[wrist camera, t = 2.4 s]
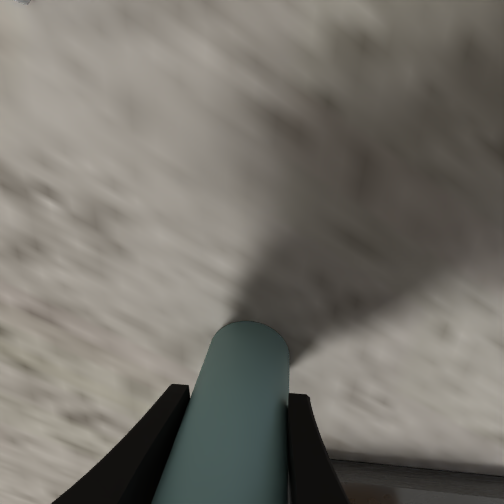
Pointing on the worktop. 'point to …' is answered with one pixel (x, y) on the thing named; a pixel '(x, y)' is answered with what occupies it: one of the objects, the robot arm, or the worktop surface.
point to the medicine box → (23, 1)
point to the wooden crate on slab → (415, 485)
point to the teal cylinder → (234, 424)
